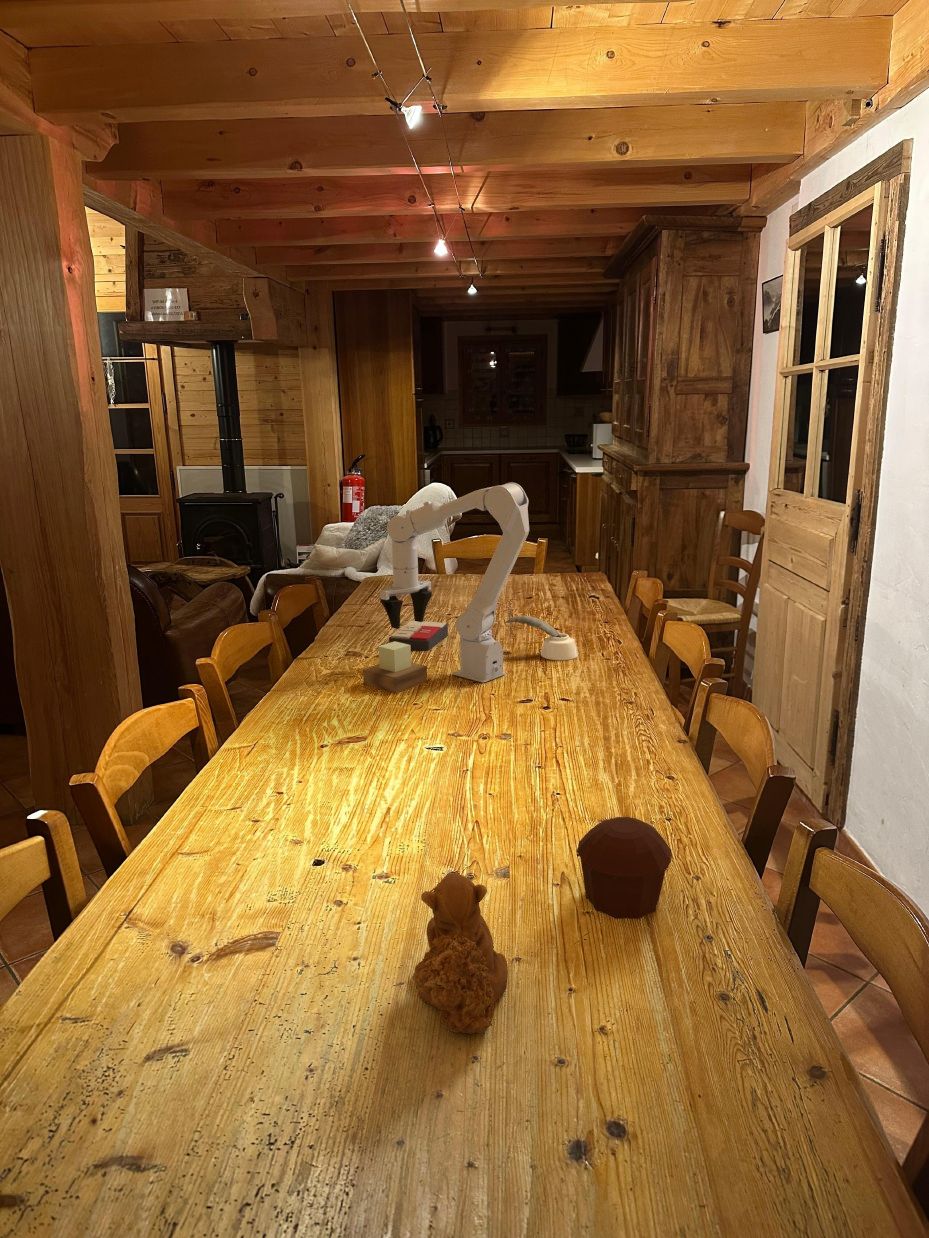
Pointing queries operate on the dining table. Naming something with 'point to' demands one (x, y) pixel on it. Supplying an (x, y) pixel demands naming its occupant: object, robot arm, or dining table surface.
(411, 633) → the red cream box
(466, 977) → the stuffed squirrel
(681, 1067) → the dining table surface
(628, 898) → the muffin
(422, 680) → the walnut riser
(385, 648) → the sage cube
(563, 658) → the inkwell
